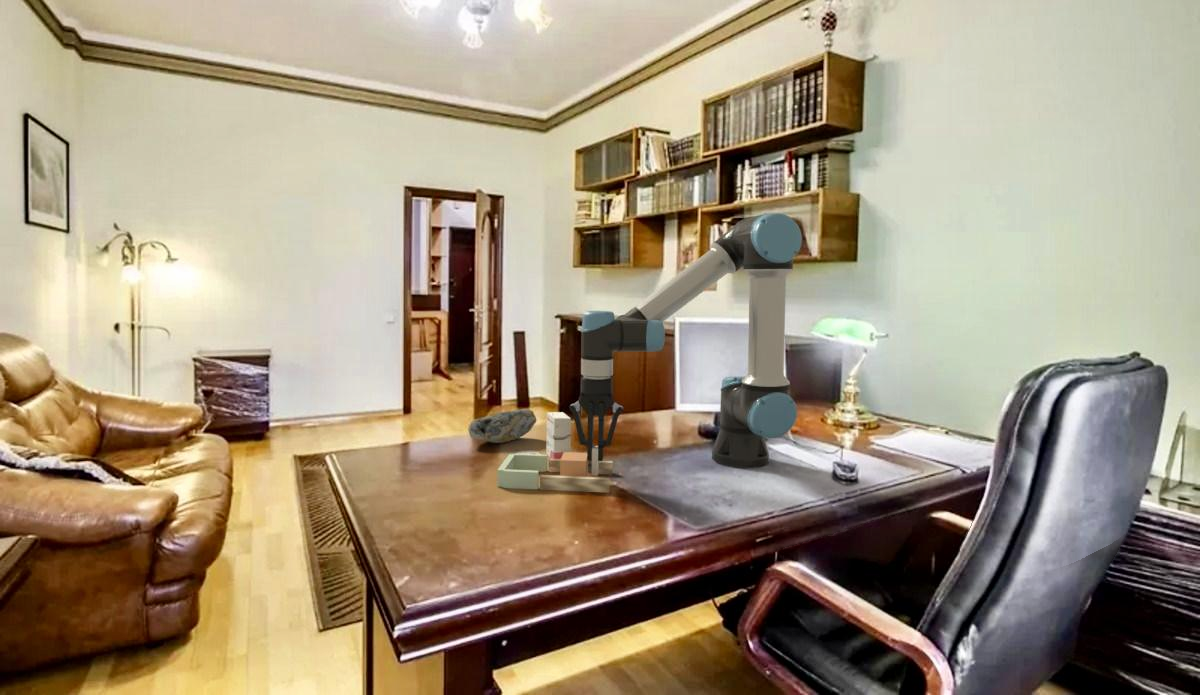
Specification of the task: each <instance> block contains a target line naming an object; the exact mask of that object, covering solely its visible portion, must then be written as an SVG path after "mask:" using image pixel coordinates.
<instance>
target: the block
mask: <svg viewBox="0 0 1200 695" xmlns="http://www.w3.org/2000/svg"><path fill="white" fill-rule="evenodd" d="M559 476H579V477H589V472H588V459H587V453H576V452H564V453H563V455H562V458H561V460H560V472H559Z"/></svg>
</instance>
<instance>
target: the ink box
mask: <svg viewBox="0 0 1200 695" xmlns="http://www.w3.org/2000/svg"><path fill="white" fill-rule="evenodd" d="M571 436H572V418H571V417H570V416H568V415H567V414H566V413H565V412H563V411H561V412H560V411H550V412H547V413H546V445H545V446H546V447H545V449H546V451H545V453H546V454H545V455H547V457H548V458H549V459H561V458H562V455H563V453H564V452H566V451H572V448H571V446H572V445H571V444H572V441H571V440H572V439H571V438H572V437H571Z"/></svg>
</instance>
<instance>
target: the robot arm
mask: <svg viewBox="0 0 1200 695" xmlns="http://www.w3.org/2000/svg"><path fill="white" fill-rule="evenodd" d="M802 241H803V238H802V231H801V229H800V226H799V225H798V223H797V222H796V221H795V219H793V218H792V217H791V216H789V215H787V214H785V213H781V212H768V213H763V214H760V215H755V216H754V215H753V216H748V217H745V218H744V219H742V220H740V221H738V222H737V223H736V224H735V225H733V226H732V227H731V228H729V229H728V230H727V231H725V233H723V234H722V235H721V236H720V237H719V238H717V239H716V240H714V241H713V242H712V243H711V245H710V248H709V250H707V252H705V253H704V254H703V255H702V256H700V257H699V258H698V259H696V260H694V261H693V262H692V263H691V264H689V265H688V266H687V267H685V268H684V269H683V270H682V271H680V272H679V273H678V274H676V275H675V276H673V277H672V278H671V279H670V280H668V281H667V282H666V283H664V284H663V285H662V286H660V287H659V288H657V289H656V290H655V291H654V292H653V293H650V295H648V296H647V297H645V298H644V299H643V300H642V301H641V302H639V303H638V304H636V305H635V306H634V307H633V308H631V309H630V310H629V311H627V312H626V313H624V314H620V315H618V316H615V313H614V311H612V310H609V311H608V310H587V311H585V312H584V313H583V314H582V321H581V322H582V324H581V358H580V359H581V360H580V362H581V363H580V374H581V375H582V377H580V395H579V397H578V400H577V401H576V402H575V403H571V404H570V406H569V410H570V413H571V414H572V416H573V419H574V424H575V427H576V432H577V436H578V441H579V444H580V446H584V447H586V448H587V449H586V450H587V451H586V452H587V459H588V461H592V472H591V476H593V477H598V475H599V474H598V468H599V461H604V452H605V451H604V448H605V447H611V444H612V441H613V438H614V433H615V430H616V427H617V423H618V419H619V417H620V415H621V413H622V412H623V411H624V407H623V405H621V404H618V403H617V402H615V398H614V395H613V393H614V392H613V391H614V390H613V385H614V384H613V382H614V379H613V378H612V376H613V375H614V353H615V352H646V353H650V352H660V351H661V350H662V349H663V348H664V345H665V340H666V339H665V338H666V332H665V330H666V329H665V325H664V322H665V321H667V319H669V318H670V317H672V316H673V315H674V314H676V313H677V312H678V311H680V309H682V308H683V307H685V306H686V305H687V304H689V303H690V302H692V300H694V299H695V298H697V297H698V296H700V295H701V294H702V293H703V292H705V291H707V289H708V288H709V287H711V286H712V285H713V284H715V283H717V282H718V281H719V280H720V279H722V278H723V277H725V275H728V274H730V275H731V274H732V275H734V274H735V273H736V272H738V271H739V270H741V269H742V271H743V272H744V273H745V274H746V275H747V276H748V278H749V286H748V287H749V289H748V290H749V292H748V294H749V295H748V297H749V298H748V343H747V344H748V349H747V350H748V352H747V353H748V354H747V358H748V359H747V374H746V376H742V375H741V376H737V375H736V376H725V377H723V379H722V381H721V387H720V408H719V410H720V411H719V431H718V434H717V436H716V440H715V441H714V444H713V447H712V450H711V451H712V452H711V458H712V460H713V461H714V462H716V463H718V464H720V465H723V466H728V467H734V468H746V469H749V468H759V467H760V468H761V467H765V466H767V465H768V464H769V462H770V453H769V448H768V446H767V442H766V439H776V438H780V437H782V436H784V435H786V434H787V433H788V432H789V431H790V430H792V428H793V427H794V425H795V423H796V421H797V416H798V408H797V405H796V402H795V401H794V399H793V398H792V397H791V396H790V395H791V394H790V390H791V386H790V385H791V382H790V380H789V379H788V378H787V377H786V375H785V374H784V370H785V369H784V368H785V331H786V330H785V329H786V328H785V327H786V295H787V294H786V290H787V277H788V276H789V274H791V273H792V271H793V269H794V258H795V257H796V256H797V254H798V253H799V252H800V250H801V247H802ZM581 408H582V409H583V411H584V412H585V414H587V437H586V435H585V431H584V427H583V423H582V418H581V413H580V410H581ZM611 408H612V413H613V415H612V419H611V422H610V427H609V429H608V434H607V438H606V439H605V415H607V413H609V410H610V409H611ZM596 416H598V425H597V426H598V431H597V436H598V437H597V445H594V418H595V417H596ZM586 438H587V439H586Z"/></svg>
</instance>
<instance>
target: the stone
mask: <svg viewBox="0 0 1200 695" xmlns="http://www.w3.org/2000/svg"><path fill="white" fill-rule="evenodd" d="M536 422H537V417H536V415H535V413H534V411H533V410H532V409H528V408H520V409H515V410H507V411H506V410H505V411H500V412H496V413H494V414H492V415H488V416H485V417H481V418H475V419H473V420H472V421H470V423H469V425H468V429H467V431H468V434H469V437H471V439H472V440H475V441H481V442H487V443H493V444H495V443H496V444H499V443H500V444H503V443H509V442H511V440H512V441H514V440H518V439H520V438H522V437H524V436H525V435H526V434H528V433H529V432H530V431H531V430H532V429H533V427H534V426H535V424H536Z"/></svg>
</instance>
